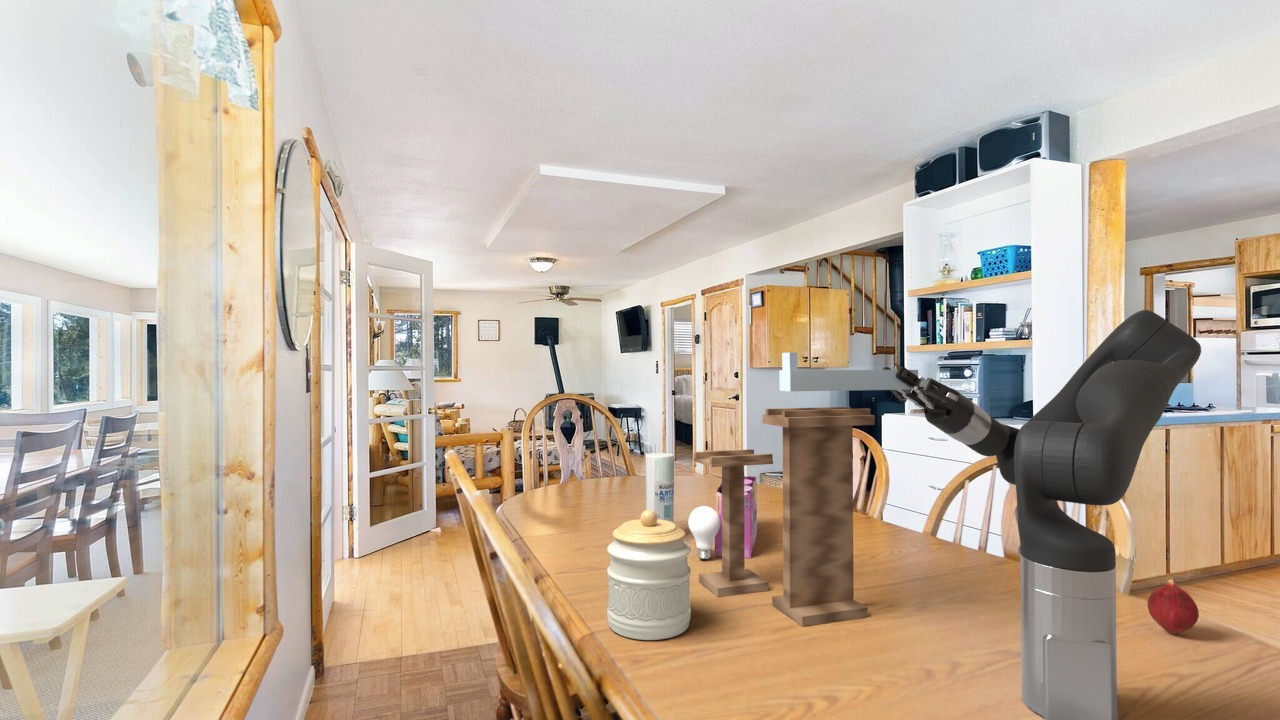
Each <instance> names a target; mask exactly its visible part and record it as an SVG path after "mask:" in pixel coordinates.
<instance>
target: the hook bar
mask: <svg viewBox="0 0 1280 720" xmlns="http://www.w3.org/2000/svg"><path fill="white" fill-rule="evenodd" d="M781 361H782V362H781V363H782V365H781V368H782V370H781V369H780V370H779V391H780V392H826V391H827V392H830V391H831V392H835V391H836V392H837V391H841V392H842V391H843V392H844V391H890V390H906V389H912V388H913V387H909V386H908V385H906V384H905V383H903V382H902V381H901V380H899V379H898V378H896V373H897V371H898V369H892V370H883V369H816V370H815V369H814V370H813V369H812V370H811V369H807V370H805V369H803V370H802V369H801V370H800V369H798V367H799V366H798V365H799V363H798V361H799V357H798V352H782V353H781ZM908 370H909V371H910V372H912V373H913V374H915V375H916V376H917V377H918V376H919V369H908ZM912 390H913V389H912Z"/></svg>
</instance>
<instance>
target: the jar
mask: <svg viewBox="0 0 1280 720" xmlns="http://www.w3.org/2000/svg"><path fill="white" fill-rule="evenodd" d="M612 537H613V538H614V540H613V541H612V542H610V543H609V544H608V546H607V548H606V550H607V553H608V555H609V556H610V563H609V566H607V568H606V572H607V575H608V576H607V577H608V578H607V579H608V580H607V584H608V586H607V587H608V589H607V590H608V591H607V592H608V596H607V598H608V600H607V601H608V602H607V604H608V605H607V608H606V613H607V615H606V617H607V620H608V626H609V628H610V630H612V631H613V633H614V632H615V633H616V634H618V635H620V636H622V637H625V638H629V639H634V640H642V641H657V640H666V639H671V638H674V637H677V636H679V635H681V634H683V633H685V632H686V631H687V630H688V629H689V626H690V621H691V617H692V616H691V611H692V608H691V605H690V604H691V603H690V602H691V598H690V596H691V595H690V587H691V586H690V580H691V579H690V575H691V573H692V571H691V567H690V566H689V565H688V563H689V562H688V555H690V553H691V551H692V548H691V546H690V544H688V543H687V542H686V541H684V538H685V537H686V532H685V531H684V529H682V528H681V527H679V526H678V525H676V523H675V522H674V523H673V522H670V521H666V520H660V519H657V515H656V513H655V512H654V511H652V510H646V509H645V510H644V511H642V512H641V515H640V518H639V519H632V520H631V519H630V520H628V521H625V522H623V523H622V524H621V525H620V526H619V527H616V528H615V529H614V530H613V531H612Z"/></svg>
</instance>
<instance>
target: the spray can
mask: <svg viewBox="0 0 1280 720" xmlns="http://www.w3.org/2000/svg"><path fill="white" fill-rule="evenodd" d="M674 479H675V456H674V454H673V453H669V452H652V453H651V452H650V453H646V454H645V510H652V511H654V512H655V513H656V515H657V519H660V520H666V521H670V522H673V523H674V524H675V522H674V517H675V516H674V514H675V513H674V510H675V504H674V503H675V501H674V499H675V498H674V497H675V494H674V493H675V492H674V491H675V480H674Z"/></svg>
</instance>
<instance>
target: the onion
mask: <svg viewBox="0 0 1280 720" xmlns="http://www.w3.org/2000/svg"><path fill="white" fill-rule="evenodd" d="M1147 608H1148V613H1149V615H1150V616H1151V618H1152V619H1153V621H1154V622H1156V623H1157V624H1158V626H1160V627H1161V628H1163V630H1165V631H1166V632H1167V633H1169V634H1171V635H1178V634H1180V633H1184V632H1186V631H1188V630H1190V629H1192V628H1193V627H1194V626H1195V625H1196V623H1197V622H1198V621H1199V615H1200V614H1199V612H1200V611H1199V609H1198V605H1197V603H1196V602H1195V600H1194V599H1193V598H1192V596H1190V594H1189V593H1187V592H1186V591H1185V590H1184V589H1182V588H1181V587H1179V586H1178V585H1177V582H1176V581H1175V580H1174V579H1171V578H1170V579H1169V580H1168V579H1167V583H1166V584H1165V585H1164V586H1161V587H1158V588H1157V589H1155V590H1153V591H1152V592H1151V593H1150V594H1149V596H1148V598H1147Z"/></svg>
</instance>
